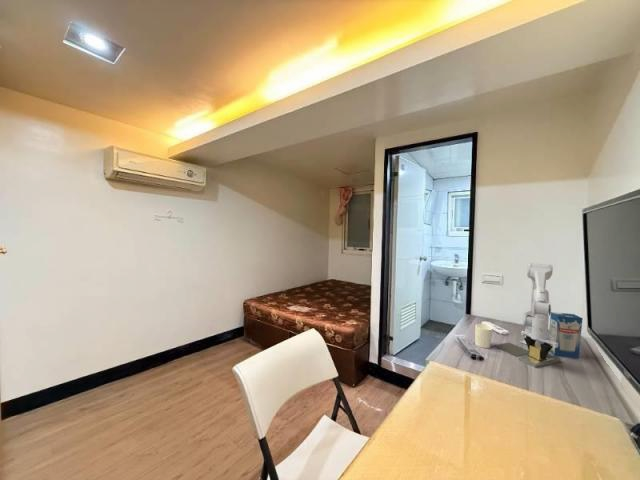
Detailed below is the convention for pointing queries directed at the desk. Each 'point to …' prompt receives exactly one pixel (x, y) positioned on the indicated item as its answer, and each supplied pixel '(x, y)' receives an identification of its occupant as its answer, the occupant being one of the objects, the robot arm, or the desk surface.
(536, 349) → the brass rectangular block
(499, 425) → the desk surface
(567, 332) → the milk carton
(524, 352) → the mat
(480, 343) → the white cup
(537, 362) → the grey plate with hole
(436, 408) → the desk surface
